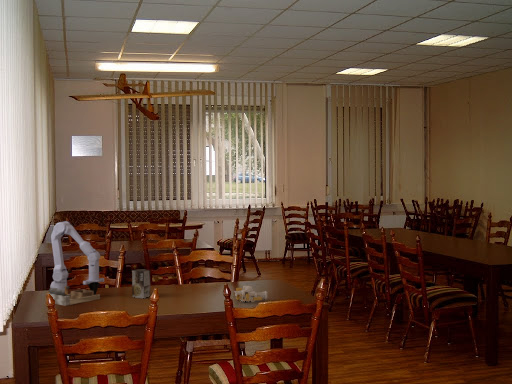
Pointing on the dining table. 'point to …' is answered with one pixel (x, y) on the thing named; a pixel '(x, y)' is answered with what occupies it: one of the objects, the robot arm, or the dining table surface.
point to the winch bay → (68, 297)
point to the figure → (249, 294)
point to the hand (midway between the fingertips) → (93, 295)
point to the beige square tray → (81, 293)
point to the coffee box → (140, 283)
